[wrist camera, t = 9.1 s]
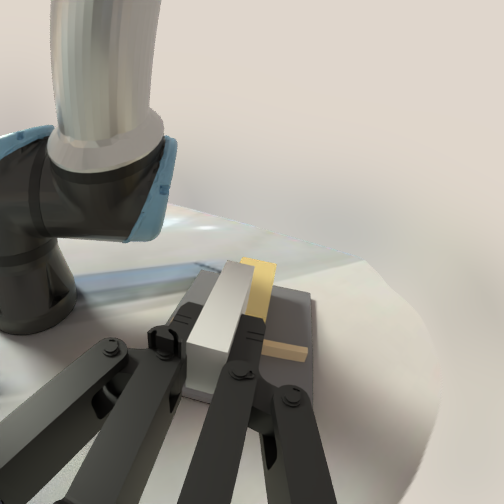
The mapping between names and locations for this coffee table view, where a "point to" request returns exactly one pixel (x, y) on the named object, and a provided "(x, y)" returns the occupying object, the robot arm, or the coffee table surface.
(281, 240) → the coffee table surface
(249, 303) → the mustard block
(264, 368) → the tipping mat
